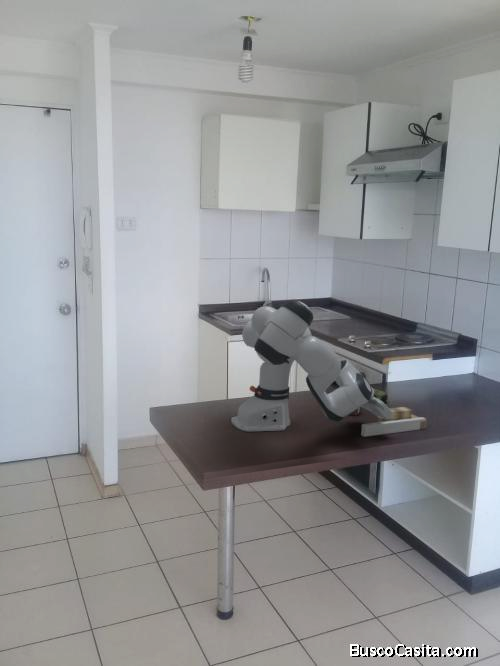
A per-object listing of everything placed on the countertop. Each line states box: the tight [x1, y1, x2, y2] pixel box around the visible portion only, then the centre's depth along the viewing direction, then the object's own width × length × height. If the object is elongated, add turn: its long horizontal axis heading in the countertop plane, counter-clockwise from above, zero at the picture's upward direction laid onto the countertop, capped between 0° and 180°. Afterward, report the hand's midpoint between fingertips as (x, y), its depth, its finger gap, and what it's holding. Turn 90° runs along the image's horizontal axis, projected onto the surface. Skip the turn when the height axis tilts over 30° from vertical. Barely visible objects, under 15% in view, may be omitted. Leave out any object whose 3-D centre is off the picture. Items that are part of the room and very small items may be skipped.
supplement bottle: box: [348, 407, 362, 416], centre depth 245 cm, size 6×6×11 cm
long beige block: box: [378, 406, 413, 422], centre depth 231 cm, size 12×4×7 cm, turn 114°
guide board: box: [360, 413, 428, 438], centre depth 231 cm, size 28×12×4 cm, turn 115°
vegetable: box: [372, 387, 388, 403], centre depth 266 cm, size 14×5×5 cm, turn 34°
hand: (380, 416), depth 228 cm, fingers closed, pressing on long beige block
